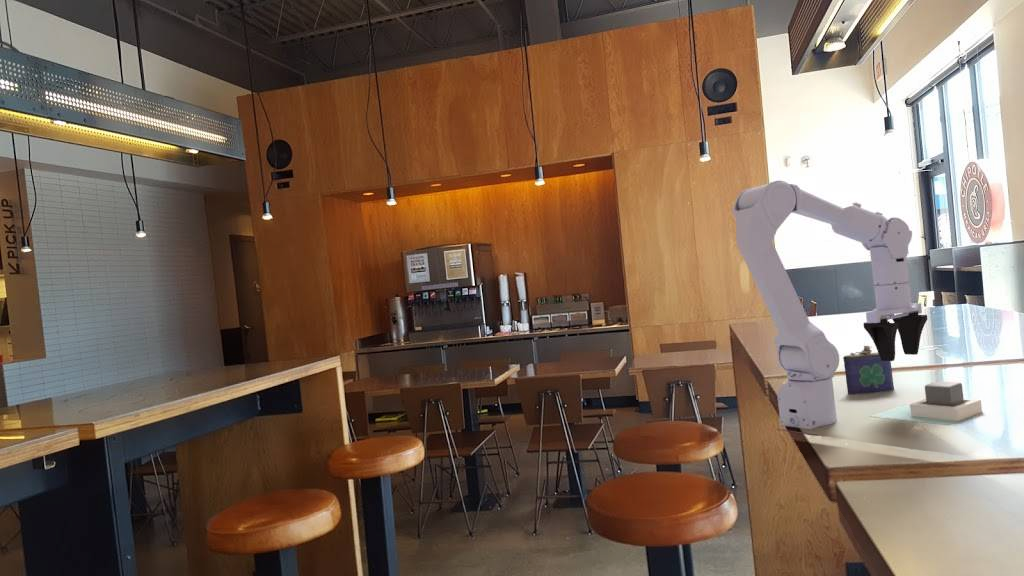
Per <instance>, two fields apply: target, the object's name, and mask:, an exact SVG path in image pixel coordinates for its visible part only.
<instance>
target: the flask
mask: <svg viewBox="0 0 1024 576" xmlns="http://www.w3.org/2000/svg"><path fill="white" fill-rule="evenodd" d="M863 347H864V348H863V350H861V351H856V352H855V353H853V352H850V354H848V355H843V365H844V374H845V379H846V380H845V381H846V389H847V394H848V395H861V394H863V395H864V394H871V393H872V394H874V393H881V392H889V391H890V392H891V391H894V390H895V386H894V377H893V368H892V361H882V360H881V358H880V356H879V353H878V351H877V352H872V351H873V350H872V349H871V348H872V346H870V345H863Z"/></svg>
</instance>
